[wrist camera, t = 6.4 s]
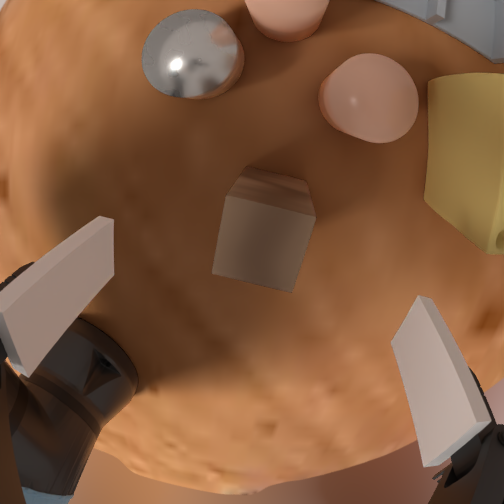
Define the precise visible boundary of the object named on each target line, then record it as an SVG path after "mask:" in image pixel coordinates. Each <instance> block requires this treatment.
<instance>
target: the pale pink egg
mask: <svg viewBox="0 0 504 504" xmlns="http://www.w3.org/2000/svg"><path fill="white" fill-rule="evenodd" d="M329 1H330V0H245V3H246V5H247V8H248V10H249V13H250V15H251V18H252V20H253V23H254V25H255V26H256V28H257V29H258V30H259V31H260V32H261V33H262V34H264V35H265V36H267V37H269V38H271V39H274V40H277V41H282V42H295V41H299V40H303V39H305V38H307V37H309V36H310V35H312V34H313V33H314V32H315V31H316V30H317V29H318V27H319V25H320V23H321V20H322V18H323V15H324V13H325V11H326V8H327V6H328V3H329Z"/></svg>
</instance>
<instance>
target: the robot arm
mask: <svg viewBox="0 0 504 504" xmlns="http://www.w3.org/2000/svg"><path fill="white" fill-rule="evenodd" d="M113 276H114V219H110V218H106V217H102V216H98V217H97V218H95V219H94V220H92V221H91V222H89V223H88V224H86V225H85V226H83V227H82V228H81V229H79V230H78V231H76V232H75V233H74V234H72V235H71V236H69V237H68V238H67V239H65V240H64V241H63V242H61V243H60V244H59V245H57V246H56V247H55V248H53V249H52V250H51V251H49V252H48V253H47V254H45V255H44V256H43V257H41V258H40V259H39V260H38V261H36V262H31V263H29V264H26V265H24V266H22V267H20V268H19V269H18V270H17V271H15V272H14V273H13V274H12V276H9V277H8V278H7V279H6V280H5V281H4V282H2V283H1V284H0V504H68V502H69V500H70V499H71V498H72V497H73V495H74V491H75V489H76V486H77V484H78V482H79V479H80V477H81V474H82V472H83V470H84V467H85V465H86V463H87V460H88V458H89V456H90V454H91V451H92V449H93V447H94V444H95V442H96V440H97V438H98V436H99V433H100V432H101V430H102V428H103V427H104V426H105V425H106V424H107V423H108V422H109V421H110V420H111V419H112V418H113V417H114V416H115V415H117V414H118V413H119V412H120V411H121V410H122V409H123V408H124V407H125V406H126V405H127V404H128V403H129V402H130V401H131V399H132V397H133V395H134V393H135V391H136V389H137V387H138V376H137V373H136V370H135V368H134V366H133V364H132V362H131V361H130V359H129V358H128V356H127V355H126V354H125V353H124V351H123V350H122V349H121V348H120V347H119V346H118V345H117V344H116V343H115V342H114V341H113V340H112V339H111V338H110V337H108V336H107V335H106V334H105V333H103V332H102V331H101V330H99V329H98V328H96V327H95V326H93V325H91V324H90V323H88V322H86V321H84V320H82V319H79V318H77V317H78V315H79V314H80V313H81V312H82V311H83V310H84V308H85V307H86V306H87V305H88V304H89V303H90V301H91V300H92V299H93V298H94V297H95V296H96V295H97V294H98V292H99V291H100V290H101V289H102V288H103V287H104V286H105V285H106V283H107V282H108V281H109V280H110V279H111V278H112V277H113ZM391 345H392V348H393V351H394V354H395V357H396V361H397V364H398V367H399V371H400V374H401V377H402V381H403V384H404V388H405V391H406V395H407V399H408V402H409V406H410V410H411V414H412V418H413V422H414V426H415V430H416V435H417V439H418V443H419V448H420V452H421V458H422V462H423V467H427V466H436V465H440V464H441V463H443V462H444V461H445V460H446V459H448V458H449V457H451V461H452V463H451V464H450V465H448V466H447V467H445V468H444V469H443V470H441V471H440V472H438V473H437V474H436V475H435V476H434V477H433V478H432V479H434V480H435V479H436V478H438V477H439V476H440V475H443V476H442V478H441V479H440V480H438V481H437V482H438V483H439V484H438V486H437V488H436V490H435V492H434V494H433V496H432V497H431V499H430V501H429V503H428V504H504V425H503V424H498V425H497V424H496V422H495V419H494V416H493V414H492V411H491V409H490V406H489V404H488V402H487V399H486V397H485V396H484V392H483V390H482V388H480V383H479V381H478V379H477V377H476V375H475V374H474V373H473V371H472V370H471V369H470V368H469V366H468V365H467V363H466V361H465V359H464V357H463V355H462V353H461V351H460V349H459V347H458V345H457V344H456V342H455V340H454V338H453V336H452V334H451V332H450V330H449V329H448V327H447V325H446V323H445V321H444V320H443V318H442V316H441V314H440V312H439V311H438V309H437V307H436V306H435V304H434V302H433V300H432V299H431V298H428V297H424V296H420V295H418V296H417V298H416V300H415V301H414V303H413V305H412V307H411V309H410V310H409V312H408V314H407V316H406V317H405V319H404V321H403V323H402V324H401V326H400V328H399V329H398V331H397V333H396V334H395V336H394V338H393V339H392V341H391ZM7 357H8V358H9V360H10V362H11V364H12V366H13V368H14V369H15V370H17V371H19V372H20V373H21V375H20V376H19V377H18V376H17V374H16V373H15V372H14V371H13V369H12V368H11V367H10V365H9V364H8V363H7V362H6V360H5V359H6V358H7Z"/></svg>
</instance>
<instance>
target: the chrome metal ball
mask: <svg viewBox="0 0 504 504" xmlns="http://www.w3.org/2000/svg"><path fill="white" fill-rule="evenodd" d="M244 62H245V56H244V50H243V47H242V45H241V43H240V41H239V39H238V38H237V36H236V35H235V34H234V32H233V31H232V29H231V28H230V26H229V25H228V24H227V22H226V21H225V20H224V19H222V18H221V17H220V16H218V15H216V14H214V13H212V12H209V11H205V10H198V9H191V10H184V11H180V12H177V13H175V14H172V15H170V16H168V17H167V18H165V19H164V20H162V21H161V22H160V23H159V24H157V26H156V27H155V28H154V29H153V30H152V31H151V33H150V34H149V36H148V37H147V39H146V42H145V44H144V47H143V51H142V67H143V71H144V73H145V76H146V78H147V79H148V81H149V82H150V83H151V85H152V86H154V87H155V88H156V89H157V90H159V91H160V92H162V93H164V94H167V95H170V96H174V97H182V98H191V99H209V98H213V97H216V96H218V95H221V94H222V93H224V92H226V91H227V90H229V89H230V88H231V87H232V86H233V85H234V84H235V83H236V81H237V80H238V79H239V77H240V75H241V73H242V70H243V67H244Z"/></svg>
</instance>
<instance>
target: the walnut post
mask: <svg viewBox="0 0 504 504" xmlns="http://www.w3.org/2000/svg"><path fill="white" fill-rule="evenodd" d="M316 218H317V217H316V213H315V210H314V206H313V203H312V199H311V196H310V192H309V189H308V185H307V182H306V181H305V180H301V179H297V178H293V177H289V176H285V175H281V174H277V173H273V172H269V171H265V170H261V169H256V168H252V167H248V166H246V167H245V169H244V170H243V171H242V173H241V174H240V176H239V177H238V179H237V180H236V181H235V183H234V184H233V186H232V187H231V189H230V190H229V192H228V193H227V194H226V198H225V203H224V208H223V213H222V219H221V224H220V229H219V235H218V240H217V246H216V251H215V257H214V262H213V268H212V274H215V275H219V276H224V277H228V278H232V279H236V280H240V281H244V282H248V283H252V284H256V285H261V286H265V287H269V288H273V289H278V290H282V291H286V292H290V293H292V291H293V288H294V285H295V282H296V279H297V276H298V273H299V270H300V267H301V264H302V261H303V258H304V255H305V252H306V249H307V246H308V243H309V240H310V237H311V234H312V230H313V227H314V224H315V221H316Z"/></svg>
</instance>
